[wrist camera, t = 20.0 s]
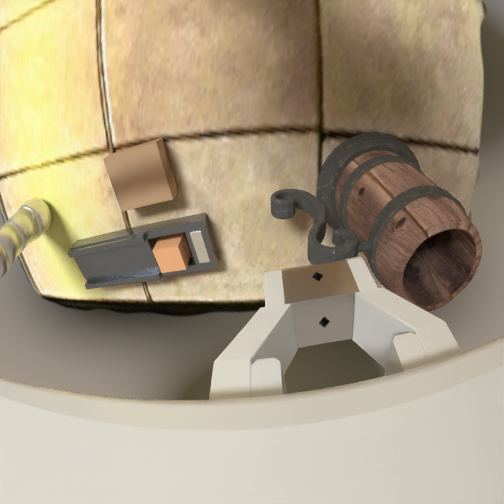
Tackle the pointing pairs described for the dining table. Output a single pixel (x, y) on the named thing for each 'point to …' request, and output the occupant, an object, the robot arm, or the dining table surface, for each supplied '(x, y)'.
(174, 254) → the peach foam cube
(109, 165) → the brown square plate
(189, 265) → the grey slotted tray
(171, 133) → the dining table surface
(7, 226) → the plastic bottle
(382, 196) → the tankard
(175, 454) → the robot arm
